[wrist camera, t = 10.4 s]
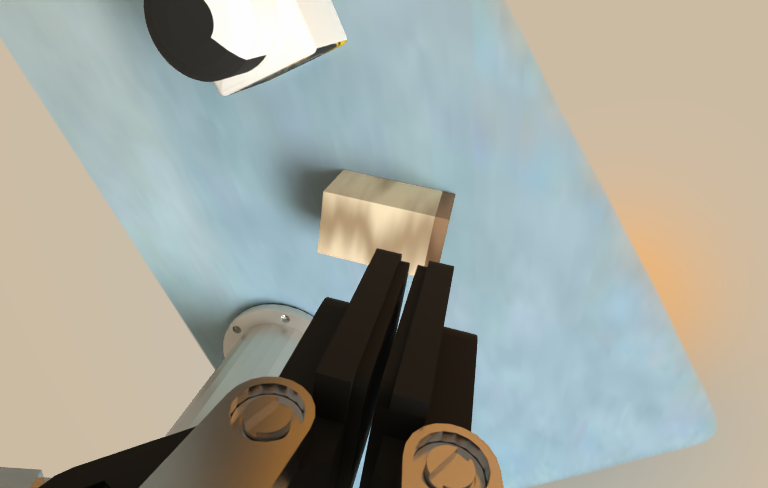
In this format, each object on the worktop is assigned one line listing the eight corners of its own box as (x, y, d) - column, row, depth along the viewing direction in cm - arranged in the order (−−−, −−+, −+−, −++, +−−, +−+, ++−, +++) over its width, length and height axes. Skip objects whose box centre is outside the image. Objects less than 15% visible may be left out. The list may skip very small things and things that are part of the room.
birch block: (435, 280, 36) (317, 252, 37) (442, 249, 40) (337, 225, 41) (449, 219, 34) (323, 191, 35) (455, 193, 38) (343, 169, 39)
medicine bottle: (267, 81, 37) (174, 115, 27) (219, -17, 35) (97, -22, 24) (350, 41, 35) (283, 61, 24) (304, -67, 32) (208, -98, 22)
